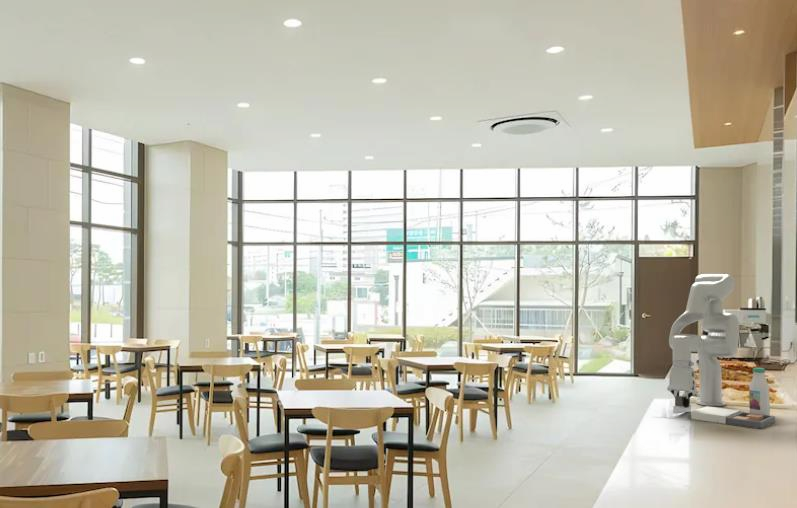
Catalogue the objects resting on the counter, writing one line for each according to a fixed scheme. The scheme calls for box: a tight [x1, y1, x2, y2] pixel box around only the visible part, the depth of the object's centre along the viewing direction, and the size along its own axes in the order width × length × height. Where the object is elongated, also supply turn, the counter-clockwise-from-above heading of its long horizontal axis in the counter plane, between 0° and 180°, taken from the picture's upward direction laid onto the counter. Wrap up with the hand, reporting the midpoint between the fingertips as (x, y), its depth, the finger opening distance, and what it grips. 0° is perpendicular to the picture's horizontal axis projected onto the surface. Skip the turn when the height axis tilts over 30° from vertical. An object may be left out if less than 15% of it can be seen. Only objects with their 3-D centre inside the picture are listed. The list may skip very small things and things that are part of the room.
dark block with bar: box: [672, 394, 692, 415], centre depth 310 cm, size 15×3×7 cm, turn 135°
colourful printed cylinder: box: [748, 367, 771, 416], centre depth 307 cm, size 8×8×20 cm
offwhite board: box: [690, 405, 741, 424], centre depth 301 cm, size 16×14×3 cm
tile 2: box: [746, 414, 764, 422], centre depth 293 cm, size 5×5×2 cm
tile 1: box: [733, 416, 750, 420], centre depth 289 cm, size 5×5×2 cm
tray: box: [726, 411, 776, 430], centre depth 291 cm, size 16×13×2 cm
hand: (682, 406), depth 310 cm, fingers closed on dark block with bar, 3 cm apart
